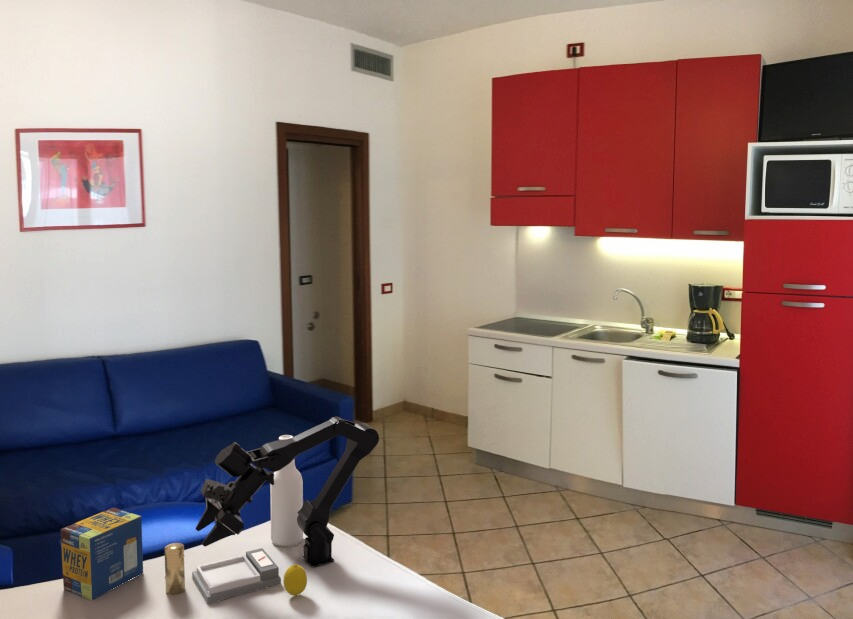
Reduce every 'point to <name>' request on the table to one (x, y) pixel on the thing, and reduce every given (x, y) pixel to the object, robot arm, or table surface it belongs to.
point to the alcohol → (286, 504)
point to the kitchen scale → (236, 576)
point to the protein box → (101, 552)
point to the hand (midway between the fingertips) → (200, 537)
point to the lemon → (295, 580)
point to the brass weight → (174, 568)
